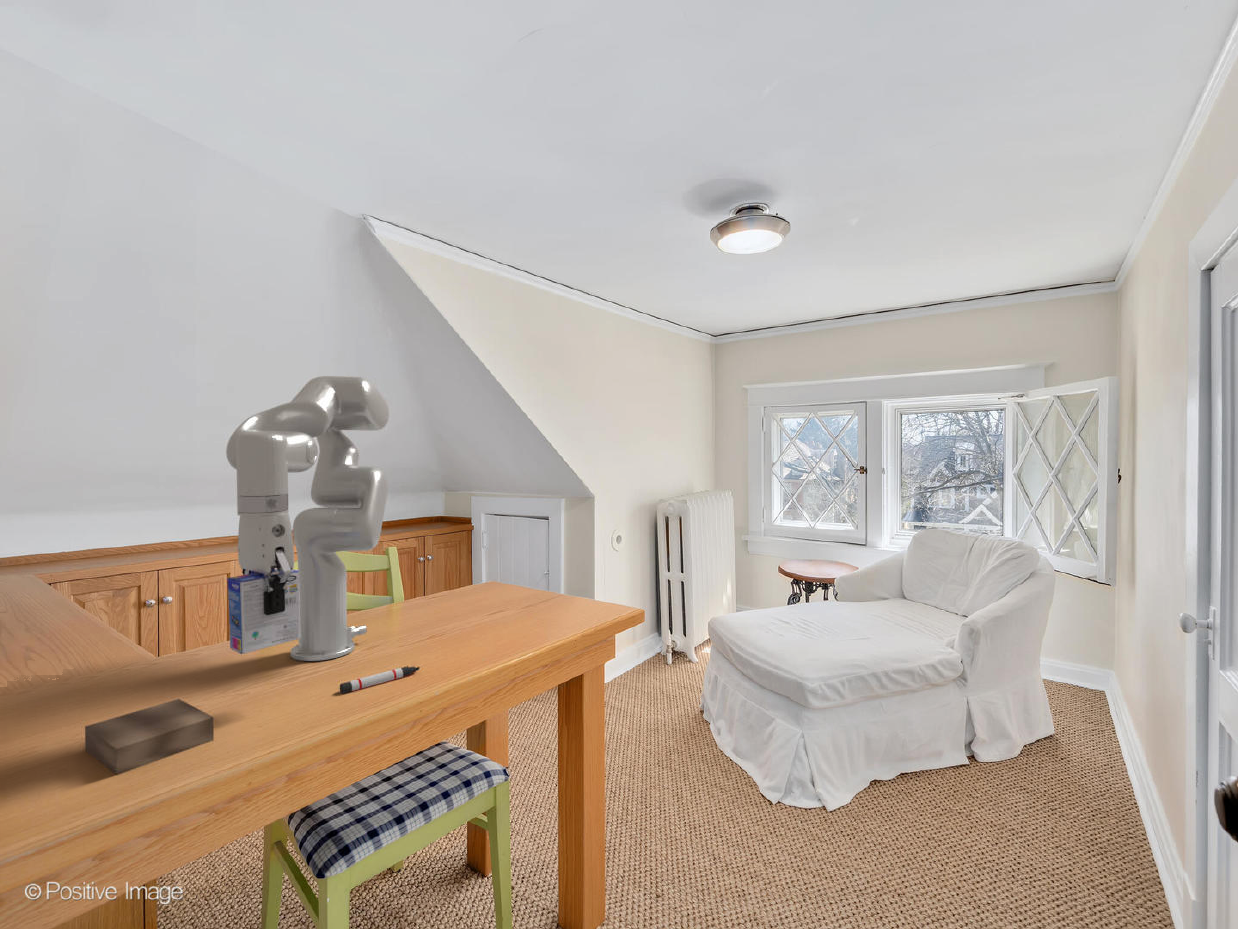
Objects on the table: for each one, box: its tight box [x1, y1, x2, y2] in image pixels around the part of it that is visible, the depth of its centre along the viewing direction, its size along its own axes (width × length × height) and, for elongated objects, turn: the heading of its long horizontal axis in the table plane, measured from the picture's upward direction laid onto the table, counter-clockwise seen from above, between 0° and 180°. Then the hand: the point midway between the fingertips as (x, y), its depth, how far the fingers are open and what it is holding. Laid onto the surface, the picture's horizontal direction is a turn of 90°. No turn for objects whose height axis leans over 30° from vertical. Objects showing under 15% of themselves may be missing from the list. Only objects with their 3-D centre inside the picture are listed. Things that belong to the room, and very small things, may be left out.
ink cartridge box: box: [227, 568, 300, 655], centre depth 104 cm, size 10×6×14 cm, turn 145°
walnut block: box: [84, 698, 215, 776], centre depth 92 cm, size 12×12×4 cm
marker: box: [339, 665, 421, 695], centre depth 117 cm, size 15×2×2 cm, turn 136°
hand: (265, 609), depth 104 cm, fingers closed on ink cartridge box, 5 cm apart
